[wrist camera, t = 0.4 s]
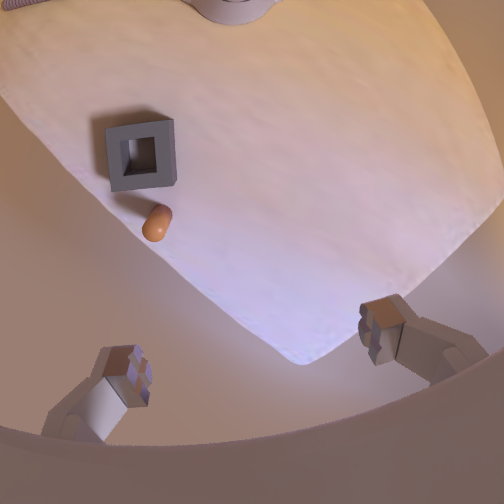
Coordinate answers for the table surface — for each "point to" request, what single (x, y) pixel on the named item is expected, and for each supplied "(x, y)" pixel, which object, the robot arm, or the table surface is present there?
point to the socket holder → (120, 156)
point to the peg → (157, 223)
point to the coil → (18, 3)
